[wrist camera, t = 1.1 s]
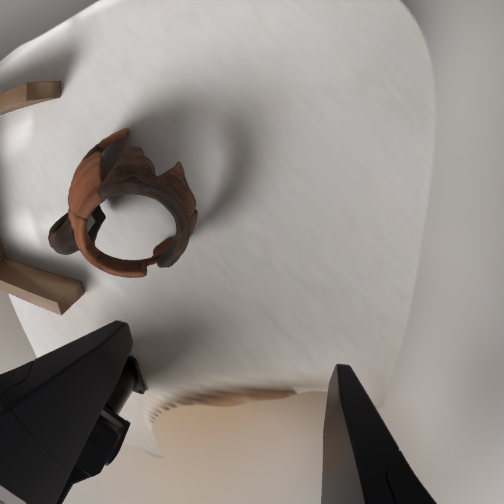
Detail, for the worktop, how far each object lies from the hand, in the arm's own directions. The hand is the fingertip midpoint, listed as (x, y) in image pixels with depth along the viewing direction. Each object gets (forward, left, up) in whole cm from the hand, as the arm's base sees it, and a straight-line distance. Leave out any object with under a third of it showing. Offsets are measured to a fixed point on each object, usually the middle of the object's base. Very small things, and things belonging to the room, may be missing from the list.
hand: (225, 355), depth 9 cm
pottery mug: (0, +11, -13) cm, 17 cm away
